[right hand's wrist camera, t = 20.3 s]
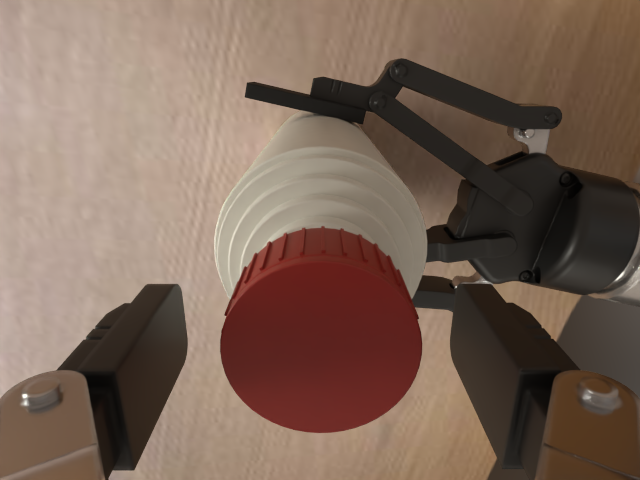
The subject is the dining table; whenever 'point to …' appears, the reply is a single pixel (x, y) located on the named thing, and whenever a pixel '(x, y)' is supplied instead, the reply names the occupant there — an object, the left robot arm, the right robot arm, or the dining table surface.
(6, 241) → the dining table surface
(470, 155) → the left robot arm
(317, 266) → the cap
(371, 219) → the bottle
